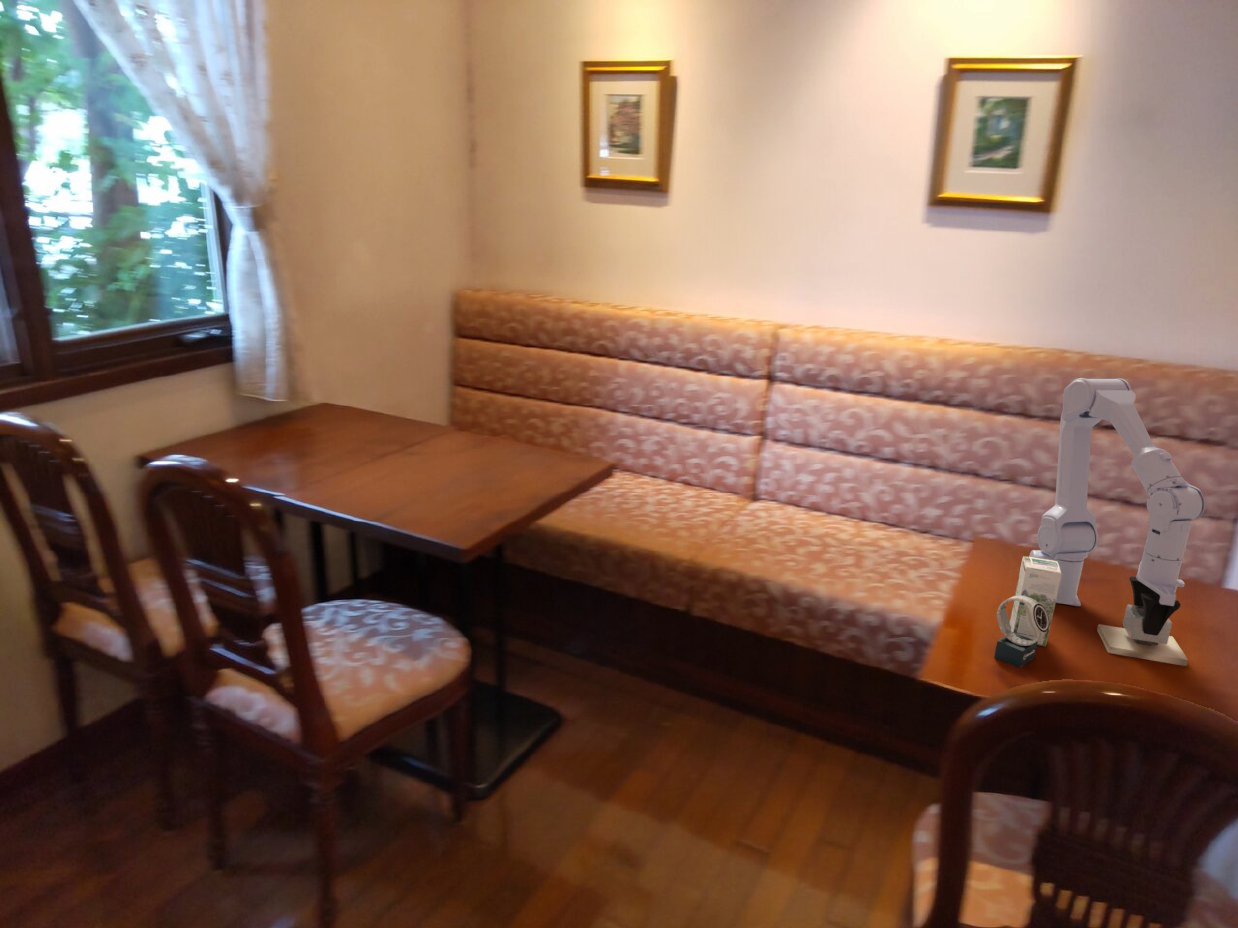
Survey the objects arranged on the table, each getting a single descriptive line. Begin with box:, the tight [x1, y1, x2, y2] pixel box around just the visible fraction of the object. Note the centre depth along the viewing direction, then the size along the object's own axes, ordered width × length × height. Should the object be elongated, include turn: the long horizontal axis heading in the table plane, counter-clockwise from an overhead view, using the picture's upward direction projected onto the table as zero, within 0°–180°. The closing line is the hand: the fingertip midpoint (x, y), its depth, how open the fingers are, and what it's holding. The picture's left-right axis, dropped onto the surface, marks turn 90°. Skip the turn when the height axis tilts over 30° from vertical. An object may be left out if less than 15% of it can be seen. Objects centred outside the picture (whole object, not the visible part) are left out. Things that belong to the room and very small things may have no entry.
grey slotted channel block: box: [1122, 604, 1173, 644], centre depth 149 cm, size 6×6×4 cm
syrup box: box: [1009, 555, 1062, 647], centre depth 150 cm, size 6×6×14 cm
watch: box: [993, 595, 1049, 669], centre depth 143 cm, size 6×8×11 cm
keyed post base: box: [1096, 623, 1189, 667], centre depth 150 cm, size 12×9×5 cm
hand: (1145, 626), depth 149 cm, fingers closed on grey slotted channel block, 6 cm apart
